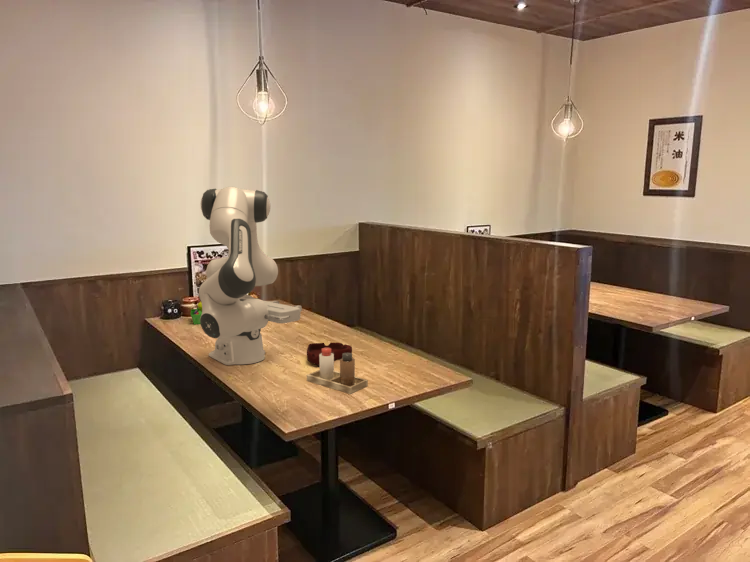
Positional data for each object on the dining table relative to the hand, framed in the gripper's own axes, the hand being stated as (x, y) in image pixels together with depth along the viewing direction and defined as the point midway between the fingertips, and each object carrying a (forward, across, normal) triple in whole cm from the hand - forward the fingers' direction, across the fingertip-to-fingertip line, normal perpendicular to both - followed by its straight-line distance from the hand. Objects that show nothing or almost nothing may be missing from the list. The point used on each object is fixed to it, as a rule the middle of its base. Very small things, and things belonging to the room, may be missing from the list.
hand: (288, 305), depth 176 cm
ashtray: (+35, +17, +30) cm, 50 cm away
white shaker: (+17, 0, +29) cm, 34 cm away
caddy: (+17, -4, +30) cm, 35 cm away
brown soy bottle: (+17, -9, +29) cm, 35 cm away
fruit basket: (+40, +99, +30) cm, 111 cm away
